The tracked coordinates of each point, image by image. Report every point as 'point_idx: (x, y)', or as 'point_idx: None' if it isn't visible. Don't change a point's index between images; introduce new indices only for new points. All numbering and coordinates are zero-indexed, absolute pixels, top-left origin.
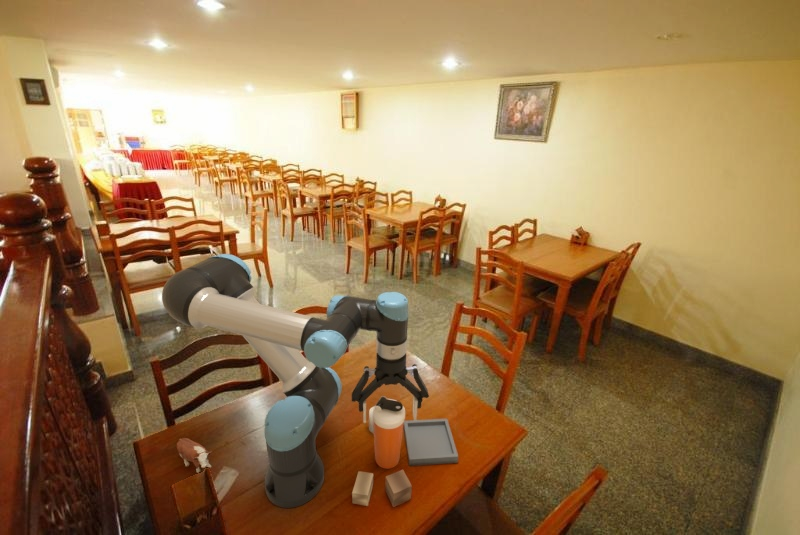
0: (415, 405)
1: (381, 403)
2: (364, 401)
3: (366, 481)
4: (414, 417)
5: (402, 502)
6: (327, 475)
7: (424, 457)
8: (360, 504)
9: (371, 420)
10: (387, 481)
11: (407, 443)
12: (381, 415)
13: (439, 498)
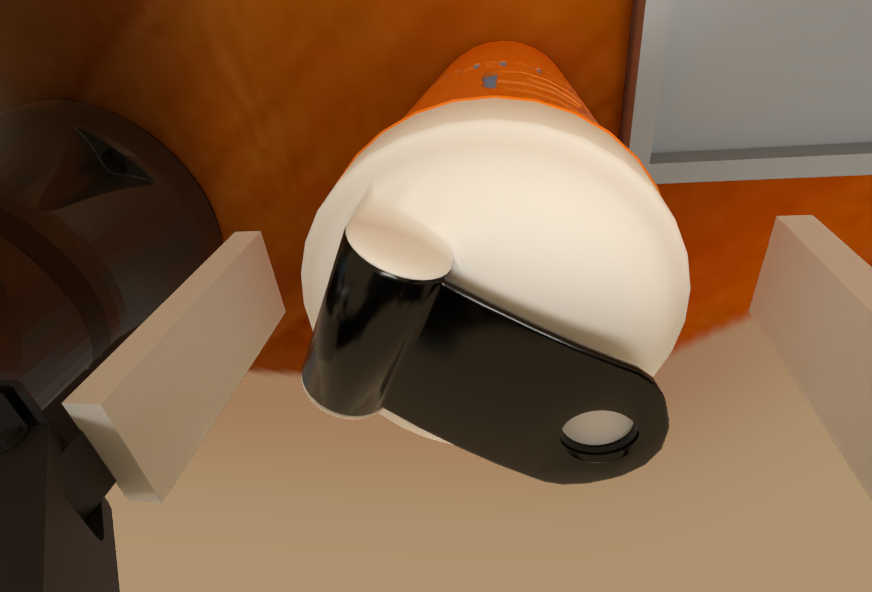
0: (867, 473)
1: (372, 382)
2: (126, 473)
3: None
4: (769, 333)
5: None
6: (226, 205)
7: (721, 174)
8: None
9: None
10: None
11: (639, 65)
12: (399, 418)
13: (713, 318)
